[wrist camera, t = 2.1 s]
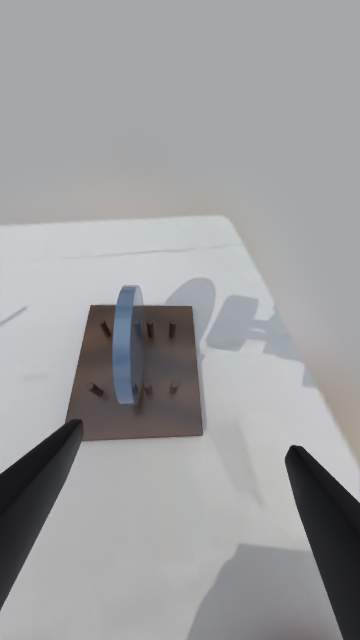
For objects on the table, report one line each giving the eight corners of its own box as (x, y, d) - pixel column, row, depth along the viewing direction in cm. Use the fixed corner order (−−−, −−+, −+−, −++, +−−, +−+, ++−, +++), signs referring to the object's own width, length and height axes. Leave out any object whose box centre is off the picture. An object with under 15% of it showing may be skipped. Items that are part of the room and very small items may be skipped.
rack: (201, 435, 21) (209, 435, 18) (63, 441, 20) (41, 442, 16) (191, 309, 29) (195, 290, 26) (92, 308, 28) (81, 288, 24)
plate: (141, 411, 21) (124, 393, 12) (129, 411, 21) (103, 394, 12) (145, 320, 27) (136, 258, 17) (136, 320, 27) (122, 258, 17)
